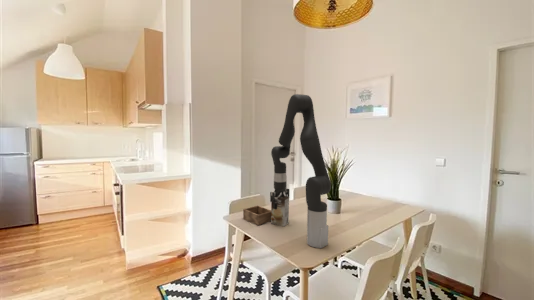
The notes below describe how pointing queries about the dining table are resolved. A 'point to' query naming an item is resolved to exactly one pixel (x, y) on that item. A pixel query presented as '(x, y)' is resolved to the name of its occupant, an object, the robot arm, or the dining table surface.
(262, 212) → the walnut caddy
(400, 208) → the dining table surface
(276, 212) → the coffee box
